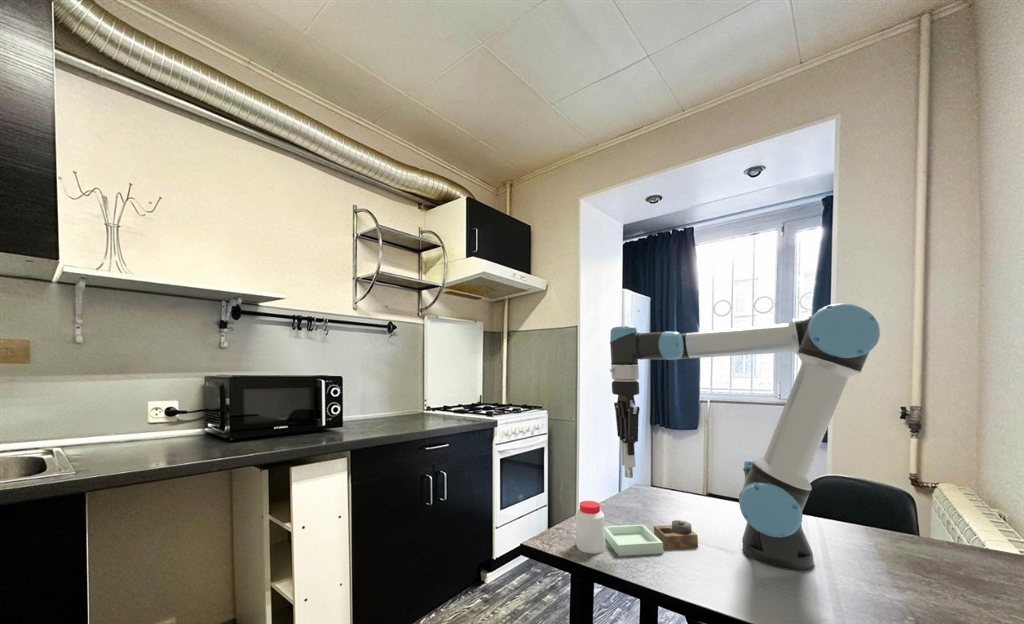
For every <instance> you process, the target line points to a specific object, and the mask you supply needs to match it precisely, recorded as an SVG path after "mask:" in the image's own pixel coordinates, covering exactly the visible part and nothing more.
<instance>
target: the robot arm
mask: <svg viewBox="0 0 1024 624" xmlns="http://www.w3.org/2000/svg"><path fill="white" fill-rule="evenodd" d="M880 335H881V329H880V325H879V323H878V321H877V319H876V318H875V316H874V315H873V314H872V313H871V312H869V311H868V310H867V309H865V308H864V307H861V306H859V305H855V304H851V303H846V302H845V303H843V302H842V303H832V304H827V305H826V306H823V307H821V308H819V309H818V310H816V312H815V313H814V314H813V315H810V316H806V317H801V318H800V317H799V318H792V319H791V320H790V321H789V322H787V323H777V324H767V325H758V326H757V325H756V326H755V325H754V326H749V327H748V326H747V327H739V328H738V327H737V328H736V327H735V328H725V329H715V330H704V331H695V332H686V333H685V332H683V333H680V332H678V331H667V330H665V331H655V332H638V331H637V327H635V326H631V325H630V326H628V325H627V326H625V325H624V326H615V327H614V326H613V327H612V328H611V329H610V335H609V336H610V337H609V338H610V339H609V340H610V341H609V345H610V362H611V363H610V365H611V367H610V369H609V372H610V373H611V379H612V382H611V392H612V394H613V395H616V396H617V402H613V406H614V411H615V412H614V413H615V421H616V431H617V432H616V433H617V437H619V441H620V444H621V445H620V446H621V447H620V449H621V450H620V451H621V465H622V466H624V456H625V467H633V468H636V452H635V449H636V448H635V444H636V443H638V442H639V418H640V417H639V415H640V409H641V408H640V406H636V401H635V395H636V396H637V395H639V394H640V382H639V381H638V380H639V379H640V372H639V371H640V370H639V360H667V361H676V360H683V359H684V360H685V359H687V360H688V359H698V358H699V359H702V358H715V357H716V358H719V357H731V356H733V357H734V356H735V357H736V356H748V355H749V356H750V355H751V356H753V355H765V354H766V355H767V354H780V353H781V354H783V353H793V354H795V355H797V356H798V357H799V359H800V361H801V364H800V367H799V370H798V372H797V374H796V377H795V380H794V382H793V385H792V386H791V389H790V391H789V395H788V397H787V399H786V402H785V403H784V404H785V405H784V407H783V409H782V412H781V414H780V416H779V419H778V422H777V424H776V427H775V429H774V431H773V434H772V437H771V439H770V441H769V444H768V446H767V449H766V452H765V453H764V456H763V457H761V458H757V459H746V460H745V461H744V462H743V469H742V472H744V484H743V486H742V490H741V491H740V493H739V496H738V504H739V509H740V512H741V514H742V516H743V518H744V520H745V522H746V526H745V528H744V531H743V536H742V540H741V543H742V544H741V545H742V550H743V552H744V553H745V554H746V555H747V556H748V557H750V558H751V559H753V560H755V561H757V562H759V563H761V564H765V565H768V566H771V567H774V568H779V569H783V570H784V569H785V570H796V571H800V570H806V569H807V570H808V569H811V568H812V567H813V566H814V564H815V561H814V553H813V550H812V548H811V546H810V544H809V543H810V542H809V541H808V539H807V537H806V534H805V532H804V529H803V527H802V522H803V510H804V508H805V505H806V503H807V501H808V498H809V496H810V493H811V491H812V487H813V486H812V485H811V483H810V481H809V480H808V475H809V473H810V472H811V471H810V470H811V468H812V466H813V463H814V461H815V458H816V456H817V454H818V452H819V448H820V446H821V444H822V441H823V439H824V437H825V434H826V432H827V430H828V427H829V425H830V423H831V420H832V418H833V416H834V413H835V411H836V409H837V406H838V403H839V401H840V398H841V396H842V394H843V392H844V389H845V386H846V384H847V381H848V379H849V378H851V377H854V376H857V375H859V374H861V372H862V370H863V368H864V365H865V363H866V361H867V358H868V356H869V354H870V352H871V351H872V350H873V349H874V348H875V347H876V346H877V344H878V342H879V340H880ZM623 439H625V441H623ZM625 467H624V468H625Z"/></svg>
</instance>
